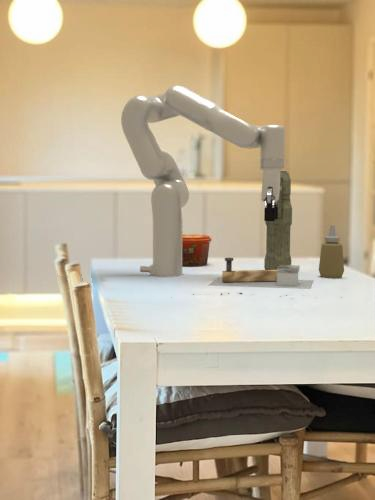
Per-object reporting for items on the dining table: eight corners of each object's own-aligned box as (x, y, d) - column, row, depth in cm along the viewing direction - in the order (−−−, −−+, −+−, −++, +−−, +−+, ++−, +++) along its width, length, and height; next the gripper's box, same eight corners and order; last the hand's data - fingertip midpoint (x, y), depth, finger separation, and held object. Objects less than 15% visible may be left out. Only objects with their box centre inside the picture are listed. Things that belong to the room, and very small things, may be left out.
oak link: (224, 282, 263) (224, 258, 263) (220, 280, 267) (220, 257, 266) (296, 280, 269) (296, 257, 268) (291, 278, 273) (292, 256, 272)
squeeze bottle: (343, 283, 276) (345, 226, 274) (317, 282, 277) (318, 226, 276) (344, 280, 284) (345, 224, 282) (319, 279, 285) (320, 224, 283)
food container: (171, 261, 333) (171, 233, 332) (213, 262, 331) (213, 234, 330) (164, 266, 317) (164, 237, 316) (208, 267, 315) (208, 238, 314)
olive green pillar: (266, 278, 287) (268, 171, 283) (262, 273, 298) (263, 170, 295) (293, 278, 287) (295, 171, 284) (288, 273, 299) (289, 171, 295)
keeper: (276, 285, 259) (277, 267, 258) (279, 282, 267) (279, 264, 266) (297, 286, 258) (297, 268, 257) (299, 282, 265) (299, 265, 265)
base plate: (207, 290, 259) (207, 285, 259) (218, 281, 278) (218, 277, 277) (309, 293, 253) (310, 288, 253) (313, 285, 272) (313, 280, 272)
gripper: (263, 164, 280) (262, 218, 282) (256, 164, 263) (255, 221, 265) (286, 165, 279) (285, 218, 280) (281, 165, 262) (280, 222, 264)
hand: (271, 220), depth 273 cm, fingers open, 9 cm apart
